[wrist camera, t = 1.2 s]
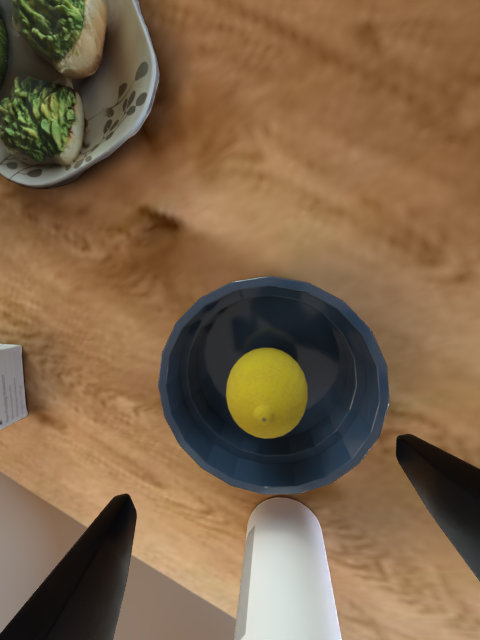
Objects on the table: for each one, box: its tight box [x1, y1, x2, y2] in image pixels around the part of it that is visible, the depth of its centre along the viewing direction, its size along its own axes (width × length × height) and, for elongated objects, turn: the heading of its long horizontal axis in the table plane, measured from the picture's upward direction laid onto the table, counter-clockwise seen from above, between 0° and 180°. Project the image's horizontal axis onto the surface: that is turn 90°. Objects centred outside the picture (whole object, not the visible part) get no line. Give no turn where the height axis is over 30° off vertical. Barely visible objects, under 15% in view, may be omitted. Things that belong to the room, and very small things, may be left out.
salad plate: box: [0, 0, 160, 189], centre depth 18 cm, size 19×18×5 cm
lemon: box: [226, 347, 308, 438], centre depth 17 cm, size 6×6×8 cm
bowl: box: [158, 276, 389, 494], centre depth 19 cm, size 15×15×5 cm
